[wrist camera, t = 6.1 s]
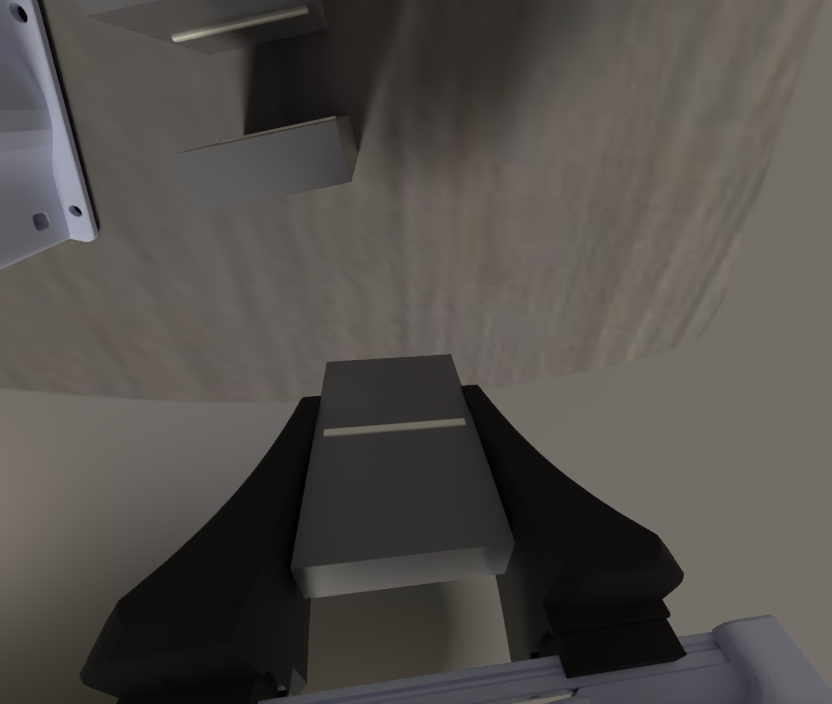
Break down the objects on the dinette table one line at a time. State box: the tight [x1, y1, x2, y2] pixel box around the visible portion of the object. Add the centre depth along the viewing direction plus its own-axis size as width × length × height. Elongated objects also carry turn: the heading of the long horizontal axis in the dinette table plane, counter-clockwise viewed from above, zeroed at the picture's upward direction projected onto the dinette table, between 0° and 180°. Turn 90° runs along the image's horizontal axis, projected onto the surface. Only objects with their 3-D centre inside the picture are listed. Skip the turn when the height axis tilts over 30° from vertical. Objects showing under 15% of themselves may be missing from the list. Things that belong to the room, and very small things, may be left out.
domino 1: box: [291, 354, 515, 599], centre depth 11 cm, size 2×5×8 cm, turn 90°
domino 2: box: [163, 114, 359, 215], centre depth 13 cm, size 2×5×8 cm, turn 100°
